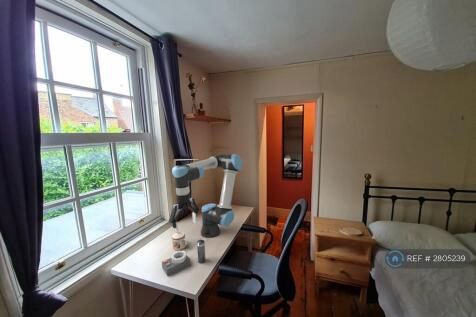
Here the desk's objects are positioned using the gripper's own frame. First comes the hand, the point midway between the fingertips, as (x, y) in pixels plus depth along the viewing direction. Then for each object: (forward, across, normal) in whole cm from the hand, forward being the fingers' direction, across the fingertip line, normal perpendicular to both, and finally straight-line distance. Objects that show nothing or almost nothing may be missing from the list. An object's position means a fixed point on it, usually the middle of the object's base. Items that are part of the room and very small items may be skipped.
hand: (186, 227), depth 116 cm
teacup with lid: (+24, -7, -18) cm, 31 cm away
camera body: (+23, +6, -4) cm, 25 cm away
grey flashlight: (+24, -6, +5) cm, 25 cm away
